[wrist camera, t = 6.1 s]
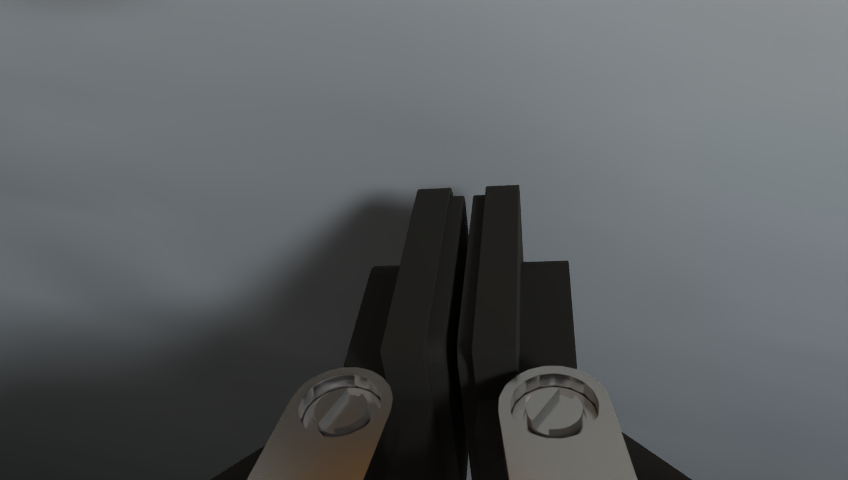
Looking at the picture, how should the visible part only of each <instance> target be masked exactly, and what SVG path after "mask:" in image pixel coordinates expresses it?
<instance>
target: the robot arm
mask: <svg viewBox="0 0 848 480" xmlns="http://www.w3.org/2000/svg"><path fill="white" fill-rule="evenodd" d="M468 452H469V460H470V468H471V477H472V480H691V479H690V478H688V477H687V476H685V475H684V474H682V473H681V472H680V471H678V470H677V469H675V468H674V467H672V466H671V465H669V464H668V463H666V462H665V461H664V460H662V459H661V458H659V457H658V456H656V455H655V454H653V453H652V452H650V451H649V450H647V449H646V448H645V447H643V446H642V445H640V444H639V443H637V442H636V441H634V440H633V439H631V438H630V437H628V436H627V435H626V434H624V433H623V432H621V429H620V426H619V423H618V420H617V417H616V414H615V411H614V408H613V405H612V402H611V399H610V397H609V395H608V394H607V392H606V390H605V388H604V387H603V386H602V385H601V384H600V383H599V382H598V381H597V380H596V379H594V378H593V377H592V376H590V375H588V374H586V373H584V372H582V371H580V370H578V369H577V362H576V350H575V337H574V324H573V312H572V299H571V286H570V274H569V263H568V261H544V262H523V245H522V226H521V207H520V190H519V185H507V186H487V187H486V192H485V195H475V196H473V204H472V213H471V222H470V231H469V235H468V225H467V215H466V205H465V198H464V196H453V193H452V189H451V188H440V189H419V190H418V192H417V195H416V199H415V204H414V208H413V212H412V217H411V221H410V225H409V229H408V234H407V238H406V242H405V247H404V251H403V255H402V259H401V264H400V266H375V267H373V268H372V270H371V273H370V276H369V279H368V283H367V286H366V290H365V293H364V297H363V300H362V304H361V307H360V311H359V314H358V318H357V321H356V325H355V328H354V332H353V335H352V339H351V342H350V346H349V349H348V353H347V356H346V360H345V363H344V367H342V368H338V369H333V370H329V371H325V372H323V373H321V374H319V375H317V376H315V377H313V378H311V379H310V380H308V381H307V382H306V383H305V384H303V385H302V386H301V387H300V388H299V389H298V390H297V391H296V393H295V394H294V395H293V397H292V398H291V400H290V401H289V403H288V405H287V407H286V409H285V411H284V412H283V414H282V416H281V418H280V420H279V422H278V423H277V425H276V427H275V429H274V431H273V433H272V434H271V436H270V438H269V440H268V442H267V444H266V445H265V446H264V447H262V448H260V449H259V450H257V451H256V452H254V453H252V454H251V455H249V456H248V457H246V458H244V459H243V460H241V461H240V462H238V463H236V464H235V465H233V466H232V467H230V468H228V469H227V470H225V471H224V472H222V473H220V474H219V475H217V476H216V477H214V478H212V479H211V480H466V477H467V464H468Z"/></svg>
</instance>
